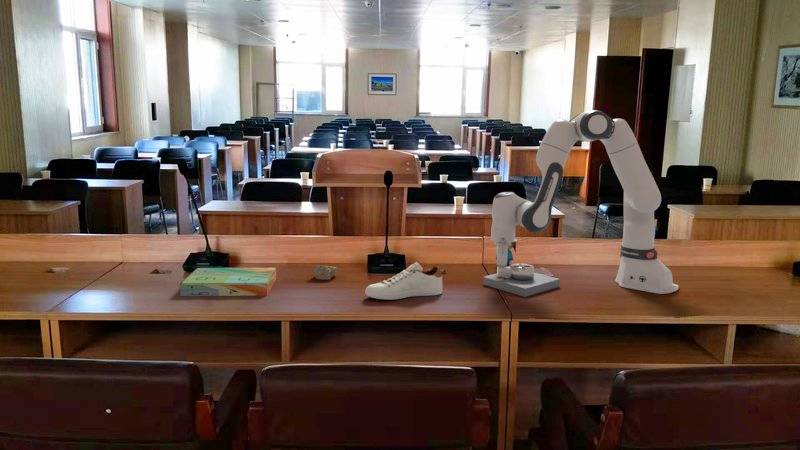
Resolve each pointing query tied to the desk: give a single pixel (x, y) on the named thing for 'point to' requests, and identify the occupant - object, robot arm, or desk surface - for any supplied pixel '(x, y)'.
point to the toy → (510, 256)
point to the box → (228, 282)
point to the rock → (324, 272)
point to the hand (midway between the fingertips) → (501, 271)
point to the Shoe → (408, 284)
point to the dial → (516, 271)
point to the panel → (522, 284)
